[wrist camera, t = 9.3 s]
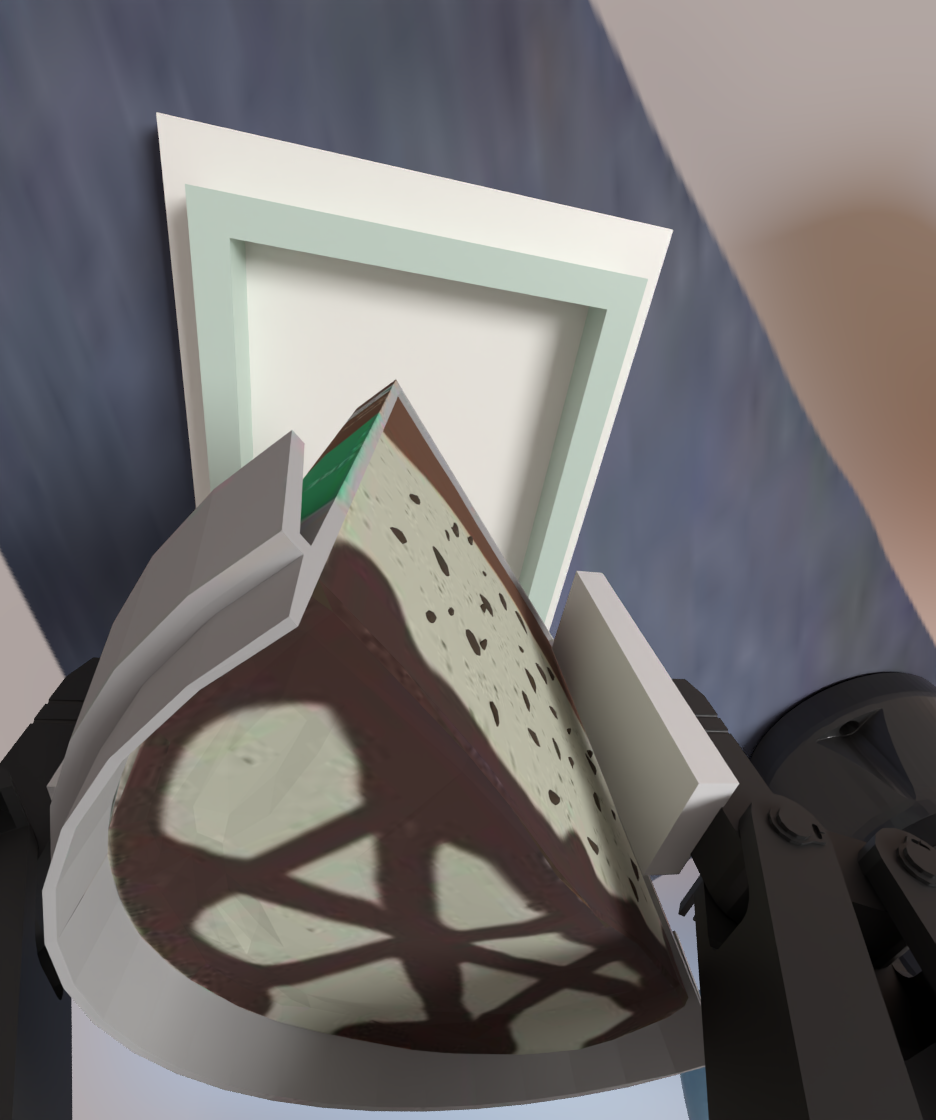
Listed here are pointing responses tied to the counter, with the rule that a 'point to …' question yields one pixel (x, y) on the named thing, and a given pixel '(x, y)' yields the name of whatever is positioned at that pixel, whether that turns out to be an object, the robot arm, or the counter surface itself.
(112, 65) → the counter surface
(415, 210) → the pocket plate
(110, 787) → the food container
